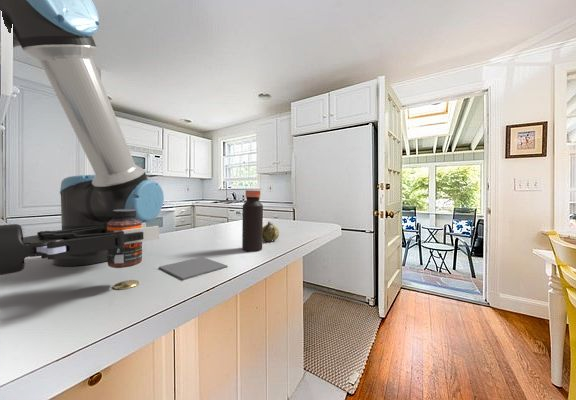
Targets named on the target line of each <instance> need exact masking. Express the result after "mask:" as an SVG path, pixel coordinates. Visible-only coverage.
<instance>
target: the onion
mask: <svg viewBox="0 0 576 400" xmlns="http://www.w3.org/2000/svg"><path fill="white" fill-rule="evenodd" d="M279 236H280V230H279V228H278V227H277V226H276V225H275V224H274V223H273V222H271V221H267V224H266V225H263V234H262V241H265V242H268V241H269V242H273V241H272V240H274V241H276V240H278V238H279Z"/></svg>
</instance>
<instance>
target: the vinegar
mask: <svg viewBox="0 0 576 400" xmlns="http://www.w3.org/2000/svg"><path fill="white" fill-rule="evenodd" d="M260 198H261V190H245V199H246V201H245V202H244V203H243V204H242V223H241V224H242V230H241V231H242V233H241V234H242V235H241V236H242V237H241V239H242V242H241V243H242V246H241V248H242V250H243V251H244V250H245V251H244V252H250V251H254V252H259V251H258V250H260V251H262V250H263V239H262V234H263V227H264V225H263V223H264V221H263V220H264V219H263V217H264V215H263V214H264V211H263V210H264V205H263V204H262V203H261V201H260Z"/></svg>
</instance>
